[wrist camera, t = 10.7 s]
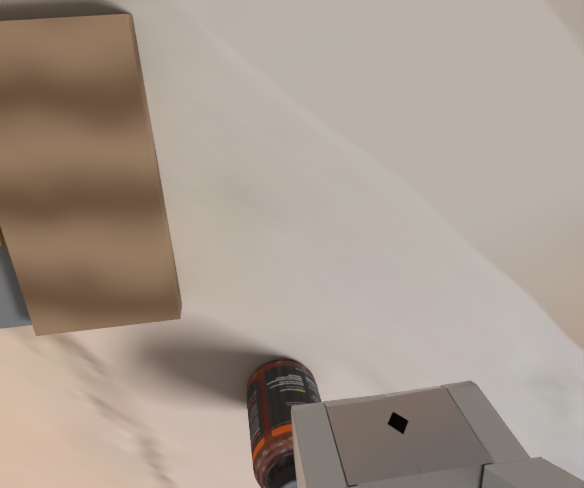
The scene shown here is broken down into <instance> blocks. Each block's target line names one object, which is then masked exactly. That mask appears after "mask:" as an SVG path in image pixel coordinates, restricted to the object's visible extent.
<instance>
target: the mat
mask: <svg viewBox="0 0 584 488" xmlns="http://www.w3.org/2000/svg"><path fill="white" fill-rule="evenodd" d="M26 325H32V322H31V319H30V316H29V312H28V309H27V306H26V303H25V300H24V297H23V294H22V291H21V288H20V285H19V282H18V279H17V275H16V272H15V269H14V266H13V263H12V260H11V257H10V254H9V251H8V248H7V245H6V242H5V241H4V242H3V243H2V244H1V245H0V329H1V328H9V327H18V326H26Z"/></svg>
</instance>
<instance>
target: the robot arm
mask: <svg viewBox="0 0 584 488" xmlns="http://www.w3.org/2000/svg"><path fill="white" fill-rule="evenodd" d="M291 420H292V434H293V448H294V461H295V470H296V479H297V488H584V481H583V480H581V479H579V478H577V477H576V476H574V475H572V474H570V473H568V472H567V471H565V470H563V469H561V468H559V467H558V466H556V465H554V464H552V463H551V462H549V461H547V460H545V459H543V458H542V457H536V458H530V456H529V455H528V454H527V452H526V451H525V449H524V448H523V447H522V445H521V444H520V443H519V441H518V440H517V439H516V437H515V436H514V435H513V433H512V432H511V430H510V429H509V428H508V426H507V425H506V424H505V422H504V421H503V420H502V418H501V417H500V415H499V414H498V413H497V411H496V410H495V409H494V407H493V406H492V405H491V403H490V402H489V400H488V399H487V398H486V396H485V395H484V394H483V392H482V391H481V390H480V388H479V387H478V385H477V384H475V383H474V382H472V381H465V382H459V383H452V384H446V385H441V386H435V387H429V388H422V389H415V390H409V391H402V392H395V393H389V394H382V395H375V396H366V397H358V398H349V399H341V400H332V401H323V403H322V402H321V403H312V404H303V405H294V406H292V407H291Z"/></svg>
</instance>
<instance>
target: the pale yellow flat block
mask: <svg viewBox="0 0 584 488" xmlns="http://www.w3.org/2000/svg"><path fill="white" fill-rule="evenodd" d="M4 241H5V239H4V235H3V232H2V229H1V226H0V245H1V244H2V243H3V242H4Z"/></svg>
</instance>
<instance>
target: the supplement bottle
mask: <svg viewBox="0 0 584 488" xmlns="http://www.w3.org/2000/svg"><path fill="white" fill-rule="evenodd" d="M312 403H321V399H320V395H319V392H318V388H317V384H316V382H315V379H314V377H313V375H312V373H311V372H310V371H309V370H308V369H307V368H306V367H305V366H303V365H301V364H299V363H297V362H293V361H276V362H272V363H269V364H267V365H265V366H263V367H262V368H260V369H259V370H258V371H256V372H255V373H254V375H253V376H252V377H251V379H250V381H249V383H248V386H247V408H248V419H249V429H250V440H251V451H252V460H253V470H254V475H255V478H256V480H257V482H258V484H259V485H260V487H261V488H297V479H296V470H295V461H294V448H293V434H292V420H291V407H292V406H294V405H303V404H312Z"/></svg>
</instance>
